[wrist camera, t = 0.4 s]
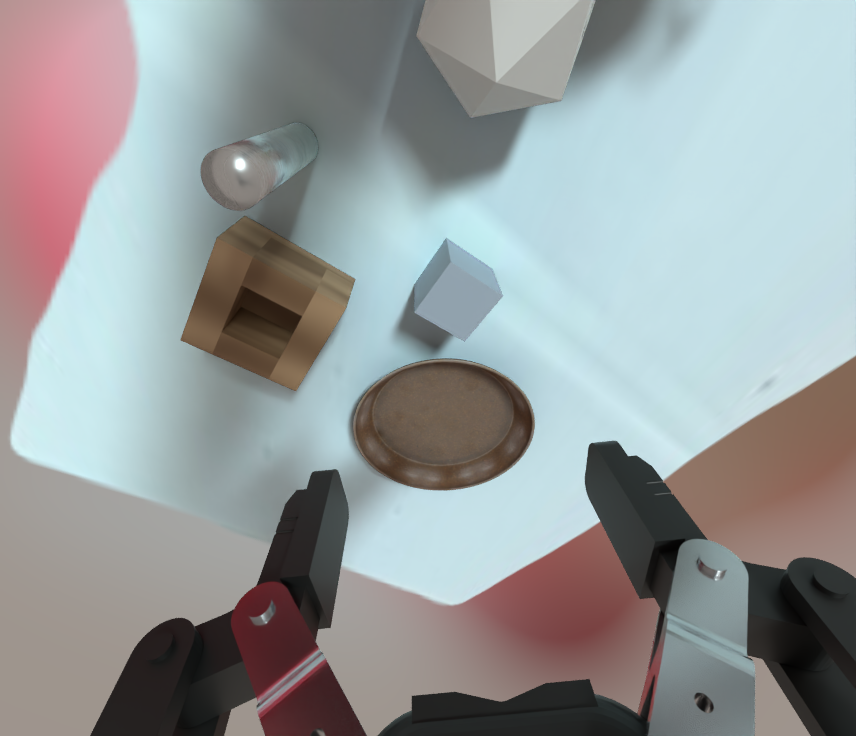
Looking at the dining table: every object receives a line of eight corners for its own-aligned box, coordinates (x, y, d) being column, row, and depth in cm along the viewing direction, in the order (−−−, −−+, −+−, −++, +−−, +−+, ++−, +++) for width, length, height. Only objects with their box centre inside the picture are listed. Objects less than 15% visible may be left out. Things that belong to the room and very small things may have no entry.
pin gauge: (289, 114, 25) (210, 135, 16) (324, 138, 26) (269, 171, 16) (275, 149, 26) (193, 189, 17) (309, 171, 27) (249, 221, 18)
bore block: (245, 215, 29) (216, 237, 25) (355, 279, 32) (346, 307, 28) (209, 308, 33) (180, 340, 29) (309, 356, 36) (295, 391, 32)
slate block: (446, 237, 30) (450, 261, 26) (492, 268, 32) (502, 295, 28) (414, 283, 32) (414, 312, 28) (459, 310, 34) (464, 341, 30)
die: (472, 142, 27) (601, 136, 20) (366, 69, 21) (499, 27, 15) (513, 6, 25) (671, -50, 18) (410, -115, 19) (586, -261, 13)
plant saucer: (346, 457, 45) (342, 479, 42) (371, 324, 35) (367, 343, 32) (493, 479, 48) (498, 501, 45) (556, 362, 38) (566, 381, 35)
